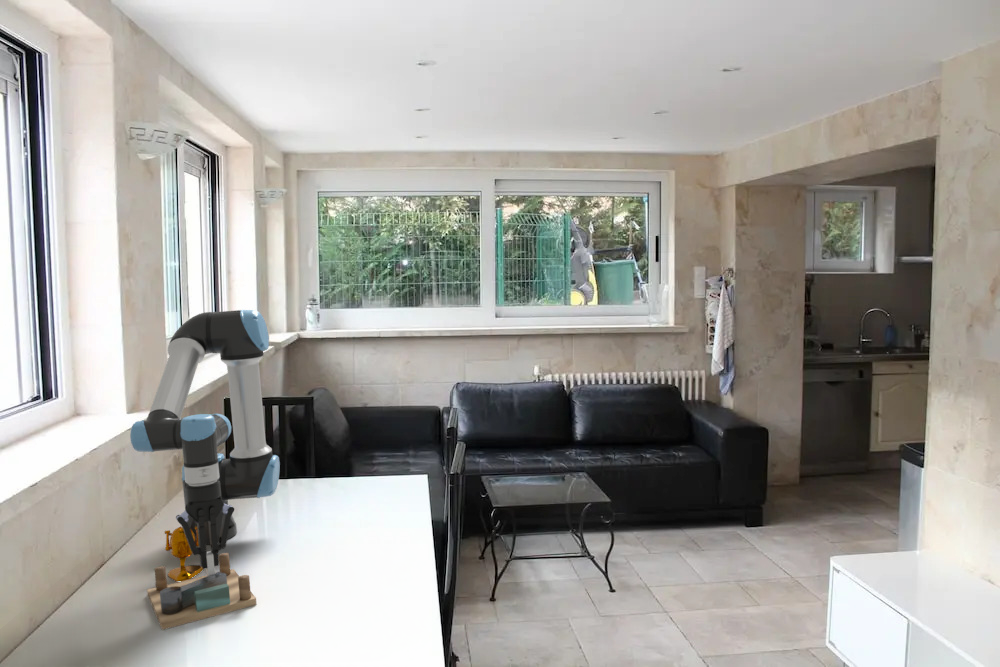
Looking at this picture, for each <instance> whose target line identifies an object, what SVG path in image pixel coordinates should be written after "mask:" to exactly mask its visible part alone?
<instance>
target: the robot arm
mask: <svg viewBox="0 0 1000 667" xmlns="http://www.w3.org/2000/svg"><path fill="white" fill-rule="evenodd" d="M269 339H270V336H269V332H268V328H267V323H266V321H265V319H264V316H263V315H262V314H261V312H260V311H258V310H256V309H255V310H254V309H238V310H228V311H227V310H224V311H223V310H222V311H207V312H206V311H205V312H202V313H198V314H195V315H194V316H192V317H191V318H189V319H187V320H186V321H185V322H184V323H182V325H180V326H179V327H178V329H177V330H176V331H175V332H174V334H173V335H172V336H171V339H170V341H169V343H168V346H167V353H168V355H169V356H168V359H167V361H166V364H165V367H164V370H163V373H162V375H161V378H160V381H159V383H158V384H159V385H158V387H157V390H156V392H155V396H154V398H153V401H152V404H151V406H150V410H149V412H148V415H147V417H146V420H144V419H142V420H138V421H135V422H134V423H133V424H132V425H131V428H130V443H131V446H132V448H133V450H135V451H136V452H138V453H139V452H143V453H145V452H146V453H147V452H151V453H154V452H165V451H175V450H182V457H183V458H182V459H183V465H182V468H181V474H182V475H181V481H182V491H183V500H184V509H185V510H184V511H183V512H182V513H180V514H177V515H176V516H175V519H176V521H177V523H179V524H180V526H181V527H182V528H183V530H184V533H185V536H186V538H187V541H188V544H189V546H190V549H191V551H192V553H193V554H192V555H194V556H197V555H198V556H199V560H200V566H202V568H203V569H204V570H205V573H206V574H205V576H210V575H212V574H215V573H216V571H215V570H216V568H215V567H217V566H219V552H220V551H221V550H224V549H225V548H226V546H227V541H228V540H229V539H230V538H233V537H234V536H236V534H237V533H238V528H237V522H236V520H235V518H234V517H233V514H234V511H235V507H234V506H233V505H232V504H229V500H241V499H242V500H245V499H261V498H265V497H266V498H267V497H271V496H273V495H274V494H275V493H276V490H277V489H278V488H277V487H278V484H279V481H280V480H279V479H280V472H281V471H280V465H281V462H280V457H279V456H278V455H276V454H273V448H272V447H270V446H269V445H268V444H267V441H266V433H265V432H266V431H265V430H266V428H265V419H264V408H263V396H262V394H263V393H262V386H261V384H262V383H261V373H260V361H261V360H262V359H263V358H264V352H265V351H268V349H269V346H270V343H269V342H270V341H269ZM208 354H220V355H219V356H220V361H221V362H223V364H225V365H226V367H227V368H226V370H227V379H228V388H229V391H228V392H229V399H230V412H231V422H232V423H231V422H230V420H229V418H228V417H227V416H225V415H224V414H221V413H212V414H207V413H201V414H198V413H197V414H194V415H193V414H192V415H189V416H184V417H183V418H182V414H183V412H184V409H185V406H186V402H187V399H188V396H189V394H190V389H191V388H192V387H191V386H192V384H193V381H194V377H195V374H196V371H197V367H198V364H200V363H201V362H202V361H203V360H204V358H205V356H206V355H208ZM231 424H232V425H231ZM232 431H233V432H232ZM231 433H233V442H234V448H233V449H232V450H231V451H230V453H229V458H225V457H226V456H225V455H224V454H223V453H218V447H220V446H221V445H222V444H224V443H225V442H226V441H227V440H228V438H229V437H230V435H231ZM195 527H197V530H195ZM190 529H191V530H192V531H193V533H194V535H195V539H196V540H197V531H198V543H199V547H197V546H196V544H195V543H196V541H194V539H193V536H192V533H191V530H190ZM207 545H210V550H209V551H207Z"/></svg>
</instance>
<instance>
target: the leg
mask: <svg viewBox="0 0 1000 667" xmlns="http://www.w3.org/2000/svg"><path fill="white" fill-rule="evenodd" d="M223 584H227V577H226V574H225V573H222V572H220V571H218V572H215V574H212V575H210V576H207V577H204V578H202V579H199V580H197V581H194V582H191V583H189V584H186V585H184V586H181V587H178V586H174V587H168V588H165V589H163V590H161V591H160V601H161V611H162V613H163V614H173V613H176V612H179V611H181V610H182V609H183V608H185V607H187V606H190V605H192V604H194V603H195V595H194V591H198V590H202V589H206V588H210V587H214V586H218V585H223Z"/></svg>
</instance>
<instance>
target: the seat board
mask: <svg viewBox="0 0 1000 667" xmlns="http://www.w3.org/2000/svg"><path fill="white" fill-rule="evenodd" d="M218 561H219V564H218V566H219V572H222V573H225V574H226V577H227V584H223V585H218V586H214V587H210V588H206V589H202V590H198V591H194V595H195V603H194V604H192V605H190V606H187V607H185V608H183V609H182V610H181V611H179V612H176V613H173V614H163V613H162V611H161V601H160V591H161V590H163V589H165V588H168V587H174V586H178V587H181V586H184V585H186V584H189V583H191V582H194V581H197V580H199V579H202V578H204V577H207V576H206V575H202V576H197V577H194V578H192V579H189V580H185V581H181V582H173V583H169V584H168V582H167V571H166V570H167V569H166V566H157V567H155V568H154V569H153V570H154V577H155V579H154V581H155V587H153V588H148V589H147V590H146V592H147V597H149V598H148V599H149V602H150V605H151V604H152V605H151V607H152V610H153V612H154V611H155V612H154V614H155V616H157V617H156V619H157V621H158V623H160V624H159V626H160V629H161V628H162V629H163V630H166V628H167V629H170V628H174V627H178V626H181V625H185V624H189V623H193V622H197V621H200V620H203V619H204V620H205V619H208V618H212V617H214V616H215V617H216V616H218V615H223V614H227V613H230V612H234V611H238V610H241V609H245V608H249V607H253V606H256V605H257V597H256V595H254V594H253V593H252V591H251V582H250V575H248V574H243V575H239V573H238V572H237V571H236V570H235V569H234V568H232V569H231V564H230V561H231V560H230V553H229V552H223V553H219V554H218ZM211 616H212V617H211ZM162 629H161V630H162Z"/></svg>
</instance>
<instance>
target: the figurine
mask: <svg viewBox="0 0 1000 667" xmlns="http://www.w3.org/2000/svg"><path fill="white" fill-rule="evenodd" d="M190 530H191V529H190ZM195 530H197V527H195ZM191 533H192V536H193V539H194V541H196V543H195V544H196V547H197V548H199V543H198V531H197V540H196V539H195V535H194V533H193V531H192V530H191ZM164 534H165V535H166V536H165V540H166V541H165V548H164V550H165V551H166V552H169V551H170V555H171V556H172V557H174V558H176V559H179V563H180V564H179V566H178V567H175V568H172V569H170V570H169V571H168V573H167V576H168V578H169V579H171V580H172V579H173V581H174V580H175V581H174V582H176V581H185V580H189V579H191V578H192V577H194V576H195V575H197V574H198V573H200V572H201V571H202V570H203V568H202V566H201V564H193V565H192V564H191V565H189V564H188V565H186V560H187V558H189V557H191V556H192V555H194V554H193V553H192V551H191V549H190V546H189V544H188V541H187V538H186V536H185V533H184V530H183V528H182V526H179V527H177V528H175V529H174V530H173V531H172V532H171V530H164ZM203 571H204V570H203ZM203 571H202V572H203ZM202 572H201V573H202ZM201 573H200V574H201ZM198 575H199V574H198ZM198 575H197V576H198ZM195 577H196V576H195ZM195 577H194V578H195ZM192 579H193V578H192Z"/></svg>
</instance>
